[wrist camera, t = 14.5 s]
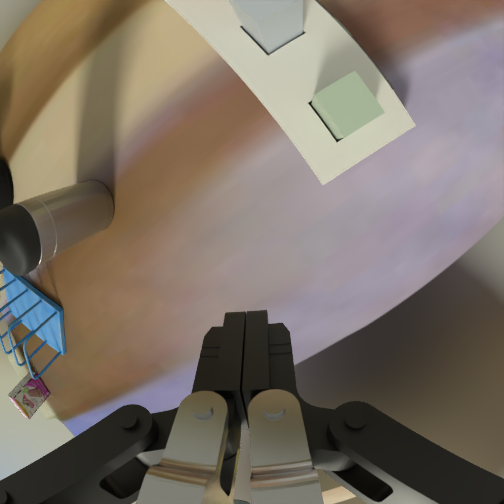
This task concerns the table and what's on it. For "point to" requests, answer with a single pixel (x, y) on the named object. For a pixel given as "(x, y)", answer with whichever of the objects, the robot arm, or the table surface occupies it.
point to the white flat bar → (303, 80)
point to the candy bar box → (29, 395)
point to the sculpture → (5, 186)
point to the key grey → (270, 21)
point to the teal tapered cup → (240, 502)
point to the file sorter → (32, 317)
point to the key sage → (346, 106)
